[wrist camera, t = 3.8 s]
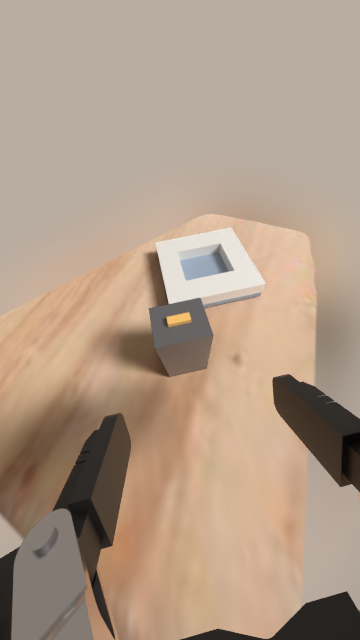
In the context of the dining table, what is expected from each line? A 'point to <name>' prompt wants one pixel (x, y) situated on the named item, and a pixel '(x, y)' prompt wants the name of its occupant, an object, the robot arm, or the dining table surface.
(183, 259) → the dock
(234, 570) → the dining table surface
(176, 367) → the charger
